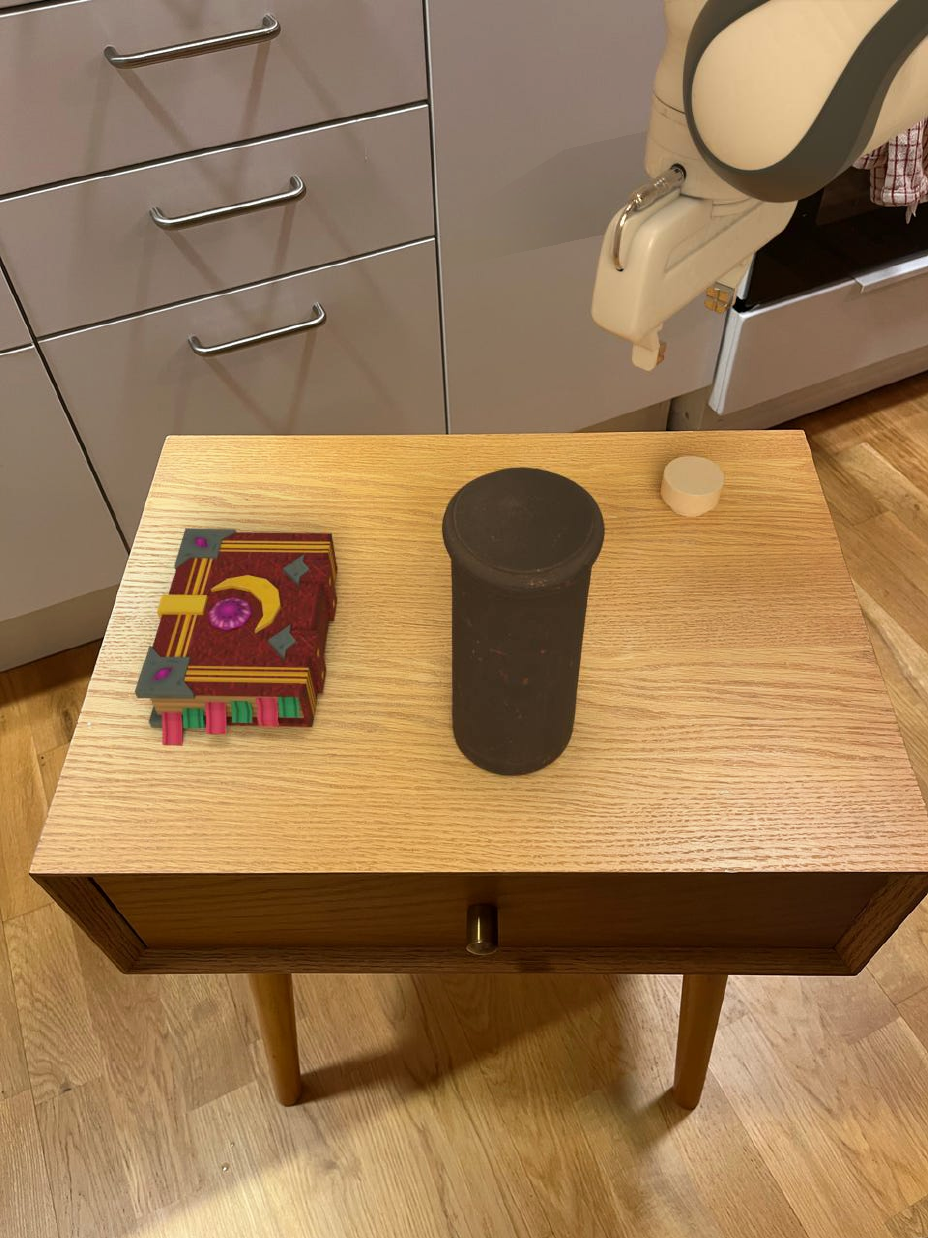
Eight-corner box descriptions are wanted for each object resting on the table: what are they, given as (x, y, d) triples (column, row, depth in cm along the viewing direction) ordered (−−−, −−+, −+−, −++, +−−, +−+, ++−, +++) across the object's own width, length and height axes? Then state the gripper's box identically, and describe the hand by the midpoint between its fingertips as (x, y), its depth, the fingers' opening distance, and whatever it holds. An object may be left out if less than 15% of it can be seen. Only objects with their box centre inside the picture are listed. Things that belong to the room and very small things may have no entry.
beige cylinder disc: (728, 499, 79) (735, 471, 77) (698, 531, 77) (705, 504, 74) (677, 475, 81) (683, 447, 79) (647, 506, 79) (652, 478, 76)
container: (596, 697, 66) (630, 478, 51) (548, 802, 61) (570, 593, 46) (482, 656, 69) (482, 436, 54) (427, 754, 64) (409, 540, 48)
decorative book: (342, 571, 75) (334, 524, 71) (314, 747, 64) (304, 704, 60) (197, 569, 75) (182, 523, 71) (147, 744, 64) (125, 701, 61)
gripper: (666, 220, 53) (637, 420, 64) (842, 100, 63) (791, 292, 73) (575, 186, 56) (562, 383, 67) (757, 77, 66) (720, 264, 76)
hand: (683, 334), depth 70 cm, fingers open, 8 cm apart
